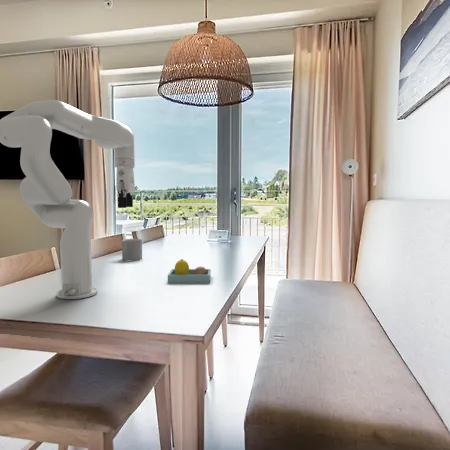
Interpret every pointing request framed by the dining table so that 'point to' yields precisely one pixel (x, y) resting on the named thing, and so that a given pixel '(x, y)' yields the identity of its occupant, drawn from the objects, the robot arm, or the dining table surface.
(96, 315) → the dining table surface
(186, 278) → the trough
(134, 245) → the coffee mug
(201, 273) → the walnut ball
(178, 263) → the lemon
